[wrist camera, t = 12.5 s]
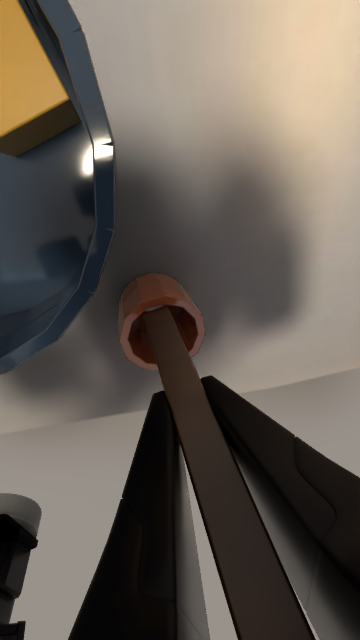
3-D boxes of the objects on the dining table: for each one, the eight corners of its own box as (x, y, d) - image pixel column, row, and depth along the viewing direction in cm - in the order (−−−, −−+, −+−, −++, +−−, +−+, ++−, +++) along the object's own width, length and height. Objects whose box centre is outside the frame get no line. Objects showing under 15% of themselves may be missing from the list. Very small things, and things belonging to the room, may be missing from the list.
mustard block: (15, 158, 10) (-19, 147, 7) (-52, 61, 9) (-123, 7, 6) (81, 121, 10) (70, 98, 7) (27, 18, 8) (-12, -57, 6)
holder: (130, 343, 16) (135, 380, 13) (109, 284, 14) (107, 311, 11) (192, 324, 16) (210, 356, 13) (179, 264, 14) (197, 285, 11)
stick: (147, 332, 12) (257, 700, 4) (141, 313, 11) (262, 721, 4) (172, 325, 12) (318, 668, 5) (167, 305, 11) (335, 682, 4)
